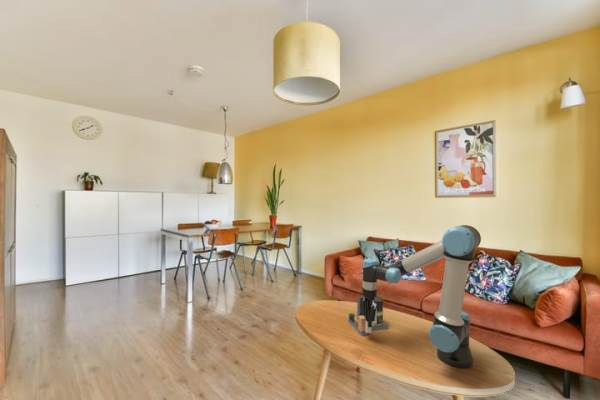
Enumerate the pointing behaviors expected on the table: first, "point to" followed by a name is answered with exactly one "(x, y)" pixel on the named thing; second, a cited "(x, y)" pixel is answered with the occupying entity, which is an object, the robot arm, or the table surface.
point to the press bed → (360, 313)
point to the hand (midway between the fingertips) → (368, 332)
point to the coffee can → (378, 311)
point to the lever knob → (361, 323)
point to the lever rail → (355, 324)
